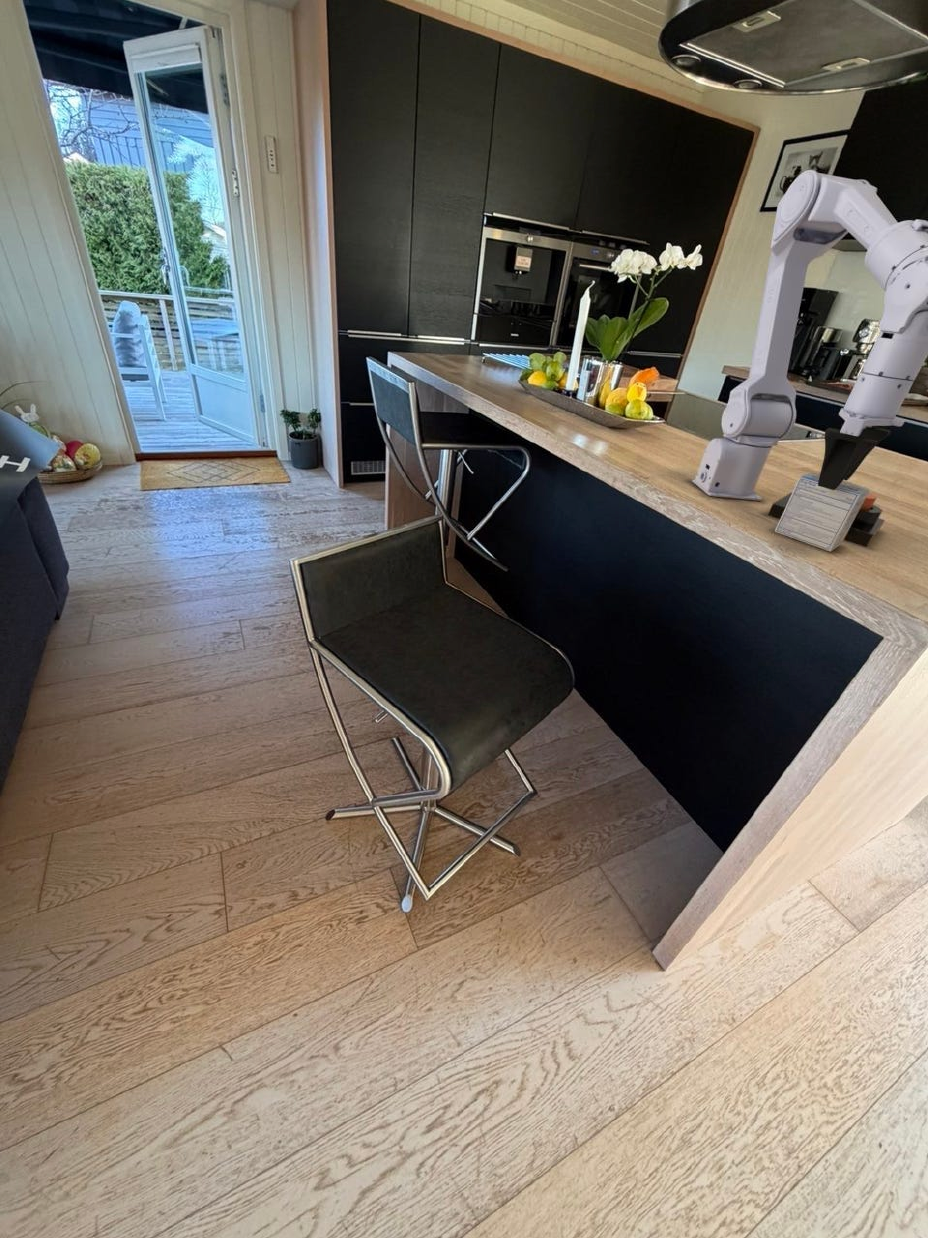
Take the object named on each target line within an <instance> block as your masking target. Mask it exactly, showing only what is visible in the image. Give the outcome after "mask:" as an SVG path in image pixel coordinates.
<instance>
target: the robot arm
mask: <svg viewBox="0 0 928 1238" xmlns="http://www.w3.org/2000/svg"><path fill="white" fill-rule="evenodd" d="M877 192H878V188H877V187H875V186H874V185H872V184H871V183H870V182H869V181H868V180H866V179H854V178H853V179H852V178H847V177H843V176H838V175H837V176H836V175H831V174H826V173H820V172H818V171H816V170H815V169H814V170H813V169H807V170H804V171H803V172H802V173H800V174H799V175H798V176H796V178H795V179H794V180H793V182H792V183H791V184H790V185H789V187H788V188H787V189H786V191H785V193H784V194H783V196H782V198H781V199H780V201H779V202H778V204H777V208H776V214H775V220H774V224H773V230H772V235H771V242H770V250H771V252H770V255H769V260H768V265H767V271H766V277H765V283H764V289H763V293H762V298H761V299H762V300H761V305H760V312H759V316H758V322H757V329H756V334H755V339H754V344H753V345H754V346H753V351H752V356H751V362H750V368H749V372H748V373H749V374H748V378H747V379H746V380H744V381H743V382H741V383H740V384H738V385H737V386H736V387H734V388H733V389H732V390H730V392H729V398H728V401H727V404H726V407H725V408H724V410H723V413H722V416H721V429H722V433H723V434H722V436H723V437H722V438H720V437H719V438H716V437H715V438H713V439H711V440H710V441H709V442H708V444H707V445H706V448H705V449H704V453H703V454H702V458H701V460H700V464H699V466H698V469H697V472H696V475H695V478H693V479H692V483H693V484H694V485H696V486H697V487H698V488H699V489H701V490H702V491H703V492H704V493H705V494H707V495H708V496H709V497H714V498H727V499H737V500H748V501H758V502H761V501H762V500H763V498H762V497H761V496H759V494H757V493H756V492H754V490H755V488H756V485H757V484H758V481H759V479H760V477H761V474H762V471H763V469H764V467H765V465H766V462H767V459H768V457H769V455H770V453H771V450H772V448H773V446H778V443H779V441H781V440H783V439H785V438H786V437H787V436H788V435H789V434H790V433H791V431H792V430H793V428H794V425H795V423H796V419H797V409H796V397H797V390H796V389H795V388H794V386H793V385H792V383H791V382H790V381H789V380H788V378H787V376H788V372H789V371H788V370H789V365H790V359H791V355H792V349H793V344H794V340H795V339H794V338H795V334H796V328H797V324H798V319H799V313H800V307H801V304H802V298H803V293H804V287H805V283H806V277H807V272H808V267H809V265H810V264H811V262H813V261H814V260H815V259H818V258H820V257H821V258H822V256H824V255H825V254H826V253H827V252H828V251H829V250H831V249H832V248H833V247H834V246H835V245H836V244H837V243H838V242H839V241H841V240H842V239H843V238H844V237H845V236H846V235H847V234H848V233H849V234H850V235H851V236H852V237H853V238H854V239H855V240H856V241H858V243H859V244H861V246H863V247H864V249H866V250H867V251H866V253H865V256H864V267H865V269H866V270H867V271H868V273H869V274H870V275H871V276H872V277H873V278H874V280H875V281H876V282H877V283H878V285H879V286H880V287H881V288H882V289H883V290H884V296H883V314H882V317H881V318H880V321H879V323H878V325H879V327H878V328H879V333H878V335H877V337H876V339H875V341H874V344H873V346H872V348H871V350H870V351H869V354H868V356H867V358H866V360H865V363H864V365H863V367H862V369H861V371H859V372H860V373H859V374H858V377H857V379H856V381H855V383H854V385H853V386H852V389H851V391H850V393H849V395H848V398H847V400H846V402H845V404H844V407H842V408H840V411H839V412H838V416H839V417H841V419H843V421H844V423H842V424H841V425H840V429H838V428H833V427H828V428H826V429H825V431H824V456H823V461H822V465H821V469H820V472H819V475H820V476H819V481H818V486H820V487H824V488H827V489H831V490H835V489H836V488H837V487H838V486H839V485H840V484H841V482H842V481H845V482H847V481H848V480H849V479H850V478H852V477H853V475H854V474H855V473H856V471H857V470H858V468H859V467H860V466H861V465H862V463H863V462H864V460H865V459H866V458H867V456H868V455H869V454H870V453H871V452H872V450H873V449H874V448H875V447H877V445H879V443H881V441H883V440H884V439H885V438H887V437H888V436H889V435H890V434H891V432H892V431H891V430H890V429H887V428H883V427H887V426H890V427H891V426H895V427H902V426H903V425H904V424H905V421H906V420H905V419H904V418H903V419H902V418H899V417H896V416H897V415H898V412H899V410H900V408H901V406H902V404H903V402H904V400H905V399H906V397H907V395H908V393H909V391H910V390H911V388H912V386H913V384H914V382H915V380H916V379H917V377H918V375H919V373H920V371H921V369H922V367H923V365H924V363H925V361H926V360H927V357H928V220H924V219H920V218H919V219H915V220H913V219H911V220H910V219H909V220H908V219H907V220H903V221H902V220H901V221H900V222H898V221H897V220H896V218H895V217H894V216H893V214H892V213H891V211H890V210H889V209H888V208H887V206H886V205H885V204H884V202H883V201H882V200H881V198H880V197H879V196H878V195H877Z"/></svg>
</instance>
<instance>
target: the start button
mask: <svg viewBox="0 0 928 1238" xmlns="http://www.w3.org/2000/svg"><path fill="white" fill-rule="evenodd" d="M876 501H877V496H876V495H875V494H872V493H870V492H869V493H868V495H867V496H866V498H865V500H864V502H863V504H862V506H861V508H860V509H865V510H870V509H871V508H872V506H873V505H875V502H876Z"/></svg>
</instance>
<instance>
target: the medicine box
mask: <svg viewBox="0 0 928 1238" xmlns="http://www.w3.org/2000/svg"><path fill="white" fill-rule="evenodd" d="M819 476H820V473H815V472H809V473H808V472H807V473H805V474H803V475H801V476H798V479H797V481H796V483H795V486H794V488H793V490H792V492H791V493H792V495H791V497H790V499H789V501H788V503H787V505H786V508H785V510H784V512H783V514H782V517H781V519H779V521H778V522H777V525H776V527H775V530H774V532H775V533H777V534H779V535H783V536H785V537H788V538H791V539H794V540H796V541H800V542H801V543H805V544H808V545H809V546H813V547H815V548H819V549H822V550H824V551H827V552H830V553H831V552H832V551H834V550H836V549H837V548H839V547H840V546H841V545H842V544H843V542H844V538H845V536H846V534H847V532H848V530H849V528H850V526H851V525H852V523H853V521H854V519H855V517H856V515H857V513H858V511H859V510H860V508H861V506H862V504H863V502H864V500H865V498H866V496H867V495H868V493H869V494H870V489H869V488H868V487H865V486H861V485H859V484H854V483H851V482H847V481H846V480H843V481H842V482H841V484H840V485H839V486H838V487H837V488H836V489H835V490H831V489H827V488H824V487H820V486H818V481H819Z"/></svg>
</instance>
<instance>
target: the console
mask: <svg viewBox="0 0 928 1238" xmlns="http://www.w3.org/2000/svg"><path fill="white" fill-rule="evenodd" d="M791 495H792V492H790V493H787V495H784V496H783V497H781V498H780V499H778V500H777V501H775V502H773V503H772V505H771V507H770V509H769V512H768V513H767V516H768V517H772V518H776V519H778V520H780V519H781V517H782V514H783V512H784V510H785V508H786V505H787V503H788V501H789V499H790V497H791ZM883 511H884V510H883V509H882V508H881V507H879V506H878V505H875V504H873V506H872V508H871V509H870V510H865V509H860V510H859V511H858V513H857V515H856V517H855V519H854V521H853V523H852V525H851V526H850V528H849V530H848V532H847V534H846V536H845V538H844V540H845V541H847V542H849V543H852V544H856V545H859V546H862V547H865V548H867V547H868V546H869V544H870V543H871V542H872V540H873V539H874V538H875V536H876V535H877V534H878V533H879V531H880V529H881V528H882V526H883V524H884V523H885V519H882V518H880V517H881V515H882V513H883ZM844 540H843V541H844Z"/></svg>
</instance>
